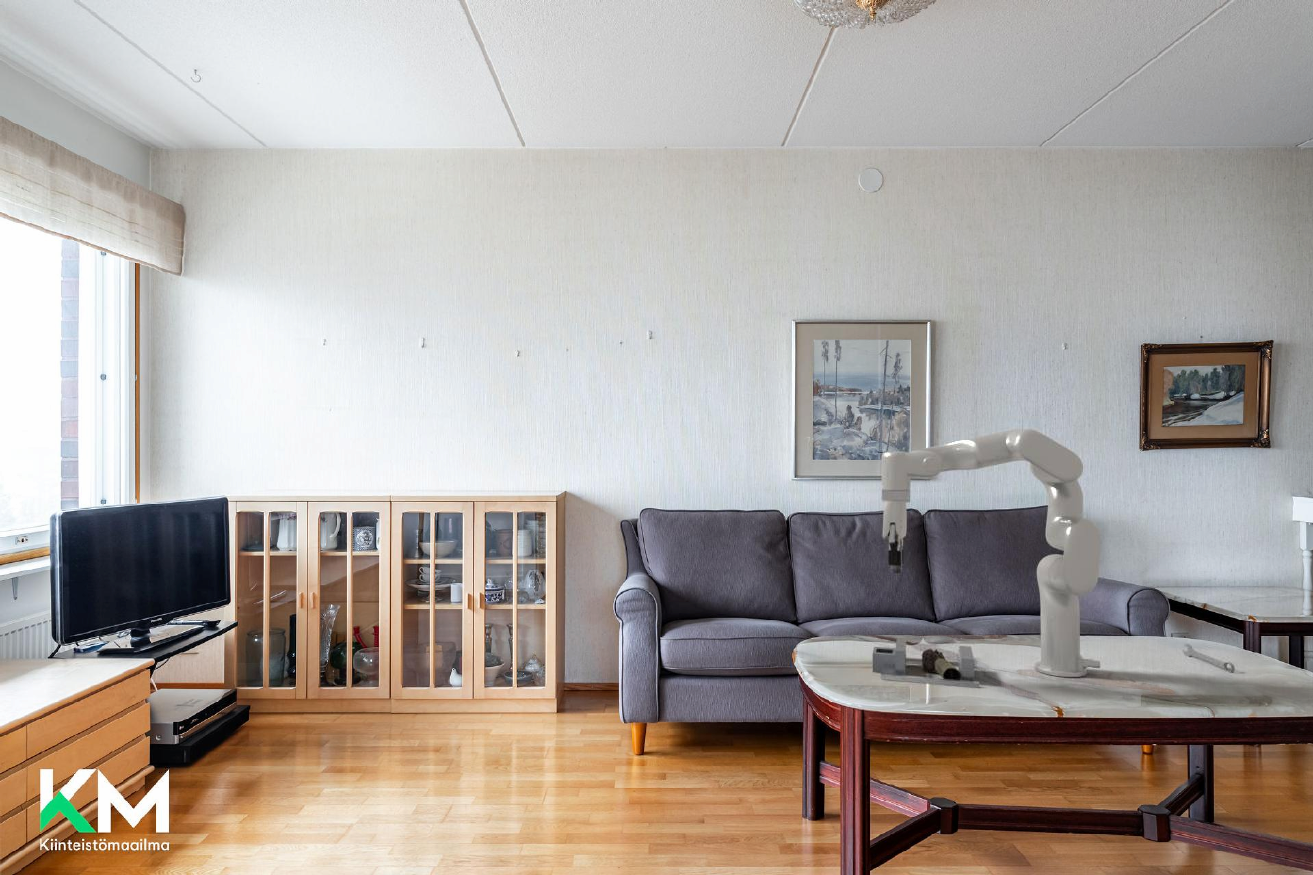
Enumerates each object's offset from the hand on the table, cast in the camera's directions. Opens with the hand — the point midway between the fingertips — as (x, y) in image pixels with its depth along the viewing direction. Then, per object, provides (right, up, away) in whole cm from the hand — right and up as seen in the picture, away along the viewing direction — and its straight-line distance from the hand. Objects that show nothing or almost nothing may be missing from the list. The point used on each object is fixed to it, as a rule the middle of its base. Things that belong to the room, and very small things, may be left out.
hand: (895, 563), depth 212 cm
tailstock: (-1, -30, +3) cm, 30 cm away
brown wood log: (+11, -30, -1) cm, 32 cm away
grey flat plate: (+9, -30, 0) cm, 31 cm away
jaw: (+18, -29, -3) cm, 34 cm away
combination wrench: (+91, -30, +9) cm, 96 cm away
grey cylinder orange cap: (0, -2, 0) cm, 2 cm away
